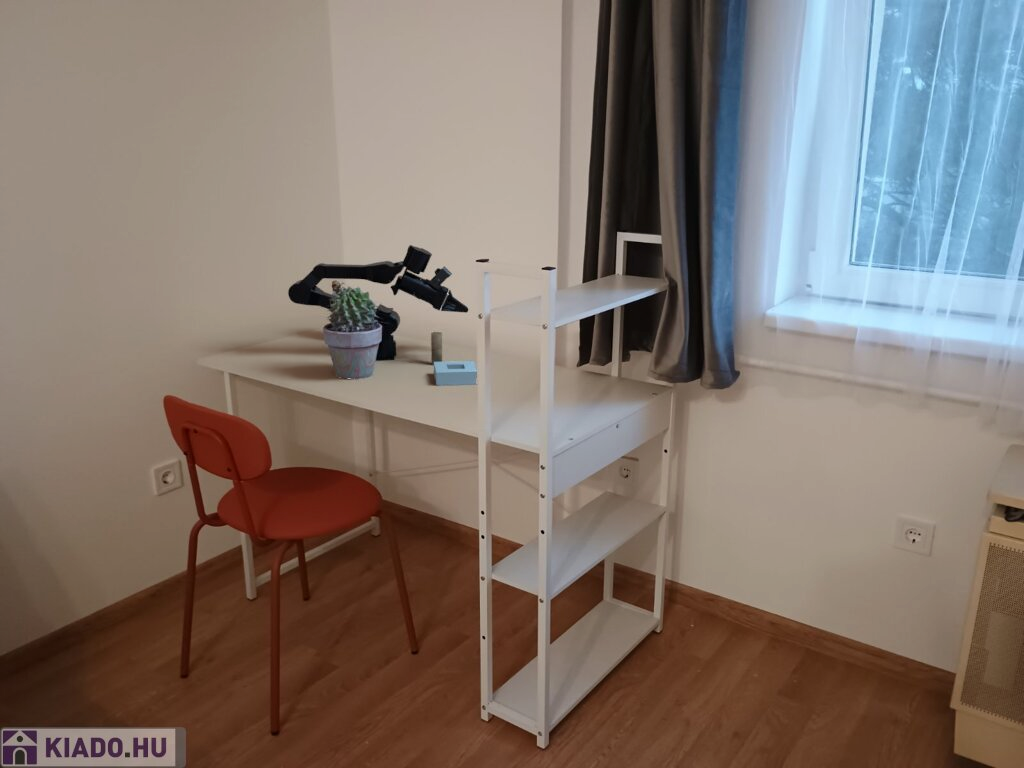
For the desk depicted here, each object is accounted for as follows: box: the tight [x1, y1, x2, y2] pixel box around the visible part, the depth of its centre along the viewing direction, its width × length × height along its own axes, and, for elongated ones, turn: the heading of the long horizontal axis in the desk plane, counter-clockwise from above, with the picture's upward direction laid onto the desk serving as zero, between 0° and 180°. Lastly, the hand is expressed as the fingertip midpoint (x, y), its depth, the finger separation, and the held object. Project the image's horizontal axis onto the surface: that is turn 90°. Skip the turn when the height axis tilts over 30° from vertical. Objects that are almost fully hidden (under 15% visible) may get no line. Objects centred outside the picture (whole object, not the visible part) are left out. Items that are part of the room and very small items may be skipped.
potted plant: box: [318, 279, 390, 380], centre depth 236 cm, size 18×20×25 cm
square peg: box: [430, 331, 443, 366], centre depth 250 cm, size 3×3×9 cm
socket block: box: [433, 360, 478, 387], centre depth 236 cm, size 11×11×4 cm
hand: (467, 310), depth 254 cm, fingers open, 9 cm apart
